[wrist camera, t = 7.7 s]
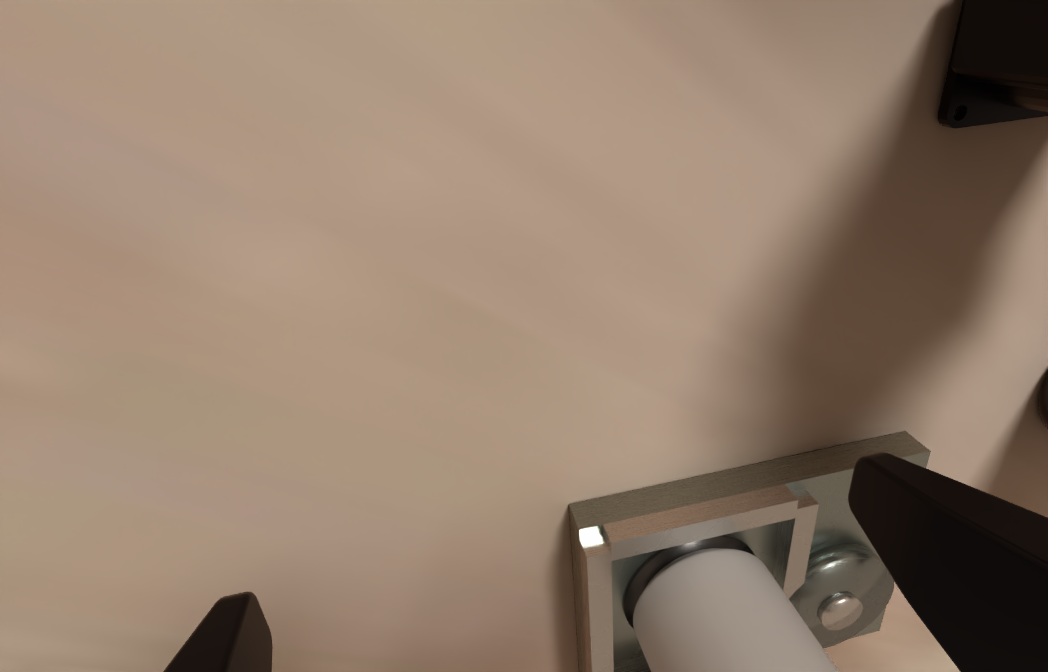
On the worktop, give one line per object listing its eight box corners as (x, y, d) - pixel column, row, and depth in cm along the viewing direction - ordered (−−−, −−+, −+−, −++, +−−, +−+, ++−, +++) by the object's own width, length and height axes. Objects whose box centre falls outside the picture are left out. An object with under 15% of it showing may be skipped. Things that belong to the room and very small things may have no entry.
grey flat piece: (905, 431, 29) (958, 473, 26) (860, 607, 35) (899, 655, 32) (568, 504, 27) (590, 558, 24) (579, 680, 32) (597, 739, 30)
